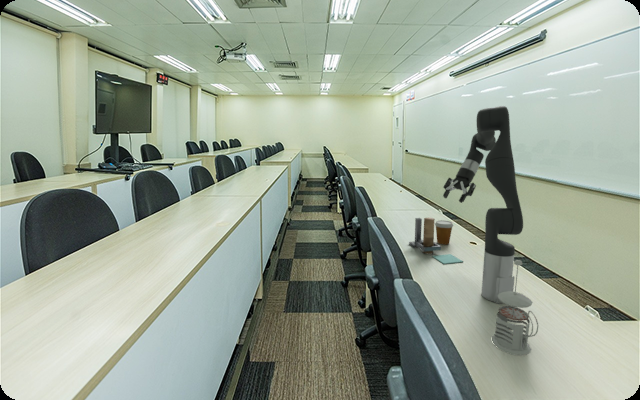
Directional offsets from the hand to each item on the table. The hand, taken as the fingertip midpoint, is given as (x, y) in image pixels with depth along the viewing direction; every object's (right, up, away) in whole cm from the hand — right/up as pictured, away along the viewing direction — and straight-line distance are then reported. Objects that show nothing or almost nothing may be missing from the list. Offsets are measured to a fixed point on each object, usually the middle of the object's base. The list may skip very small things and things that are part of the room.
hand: (452, 199), depth 149 cm
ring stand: (-9, -27, +15) cm, 32 cm away
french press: (-10, -41, -62) cm, 76 cm away
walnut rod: (-8, -27, +11) cm, 30 cm away
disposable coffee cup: (+6, -25, +25) cm, 35 cm away
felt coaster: (-2, -29, +1) cm, 29 cm away
